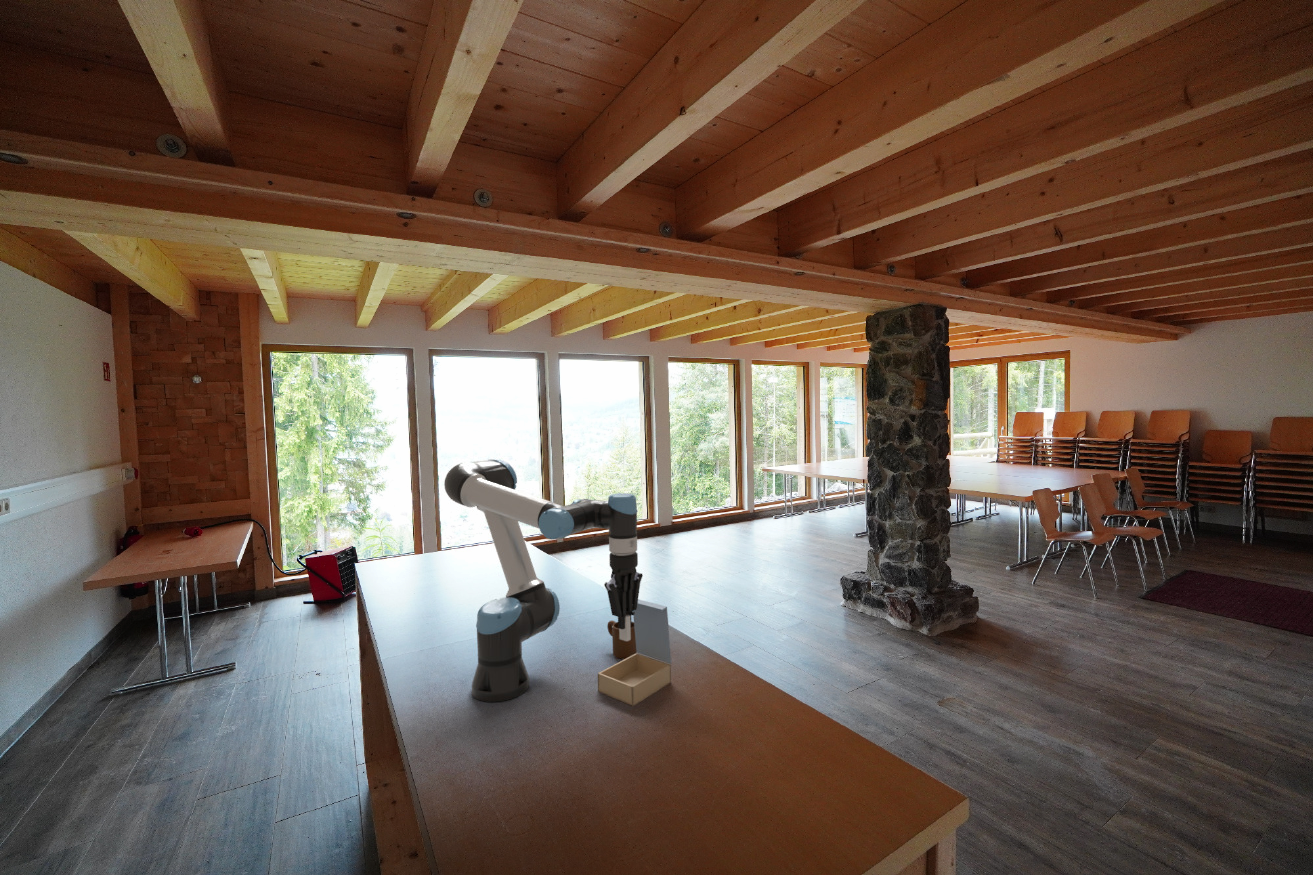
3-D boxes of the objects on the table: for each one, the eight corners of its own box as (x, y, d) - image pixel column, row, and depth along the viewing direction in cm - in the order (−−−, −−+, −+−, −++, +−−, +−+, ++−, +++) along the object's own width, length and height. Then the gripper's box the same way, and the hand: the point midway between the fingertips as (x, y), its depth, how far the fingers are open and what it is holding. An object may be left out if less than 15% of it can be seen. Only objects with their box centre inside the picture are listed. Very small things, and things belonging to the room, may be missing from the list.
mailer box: (633, 706, 141) (632, 687, 141) (597, 691, 149) (597, 673, 149) (670, 682, 153) (670, 664, 153) (636, 669, 161) (636, 653, 161)
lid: (662, 609, 150) (666, 606, 151) (627, 600, 158) (632, 597, 159) (666, 666, 152) (671, 663, 153) (632, 655, 160) (637, 651, 161)
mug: (599, 650, 175) (598, 621, 175) (617, 643, 180) (617, 615, 180) (623, 662, 166) (622, 631, 166) (642, 654, 172) (641, 624, 171)
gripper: (617, 559, 139) (618, 651, 140) (649, 549, 149) (651, 634, 150) (596, 555, 144) (597, 643, 145) (629, 545, 154) (630, 628, 155)
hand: (625, 639), depth 148 cm, fingers closed
